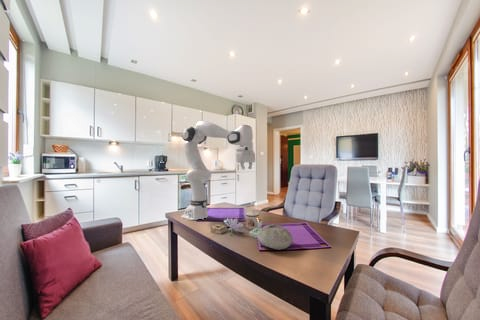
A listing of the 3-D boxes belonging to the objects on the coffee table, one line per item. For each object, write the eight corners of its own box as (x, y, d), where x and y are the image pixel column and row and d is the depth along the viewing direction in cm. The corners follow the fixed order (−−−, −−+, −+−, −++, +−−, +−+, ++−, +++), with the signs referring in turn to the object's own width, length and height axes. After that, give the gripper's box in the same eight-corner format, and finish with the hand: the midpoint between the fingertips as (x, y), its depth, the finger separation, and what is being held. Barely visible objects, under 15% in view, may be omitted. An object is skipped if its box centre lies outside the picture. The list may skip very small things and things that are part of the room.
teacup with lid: (243, 227, 132) (243, 210, 132) (250, 224, 139) (250, 207, 139) (258, 231, 124) (258, 212, 125) (265, 227, 132) (265, 210, 132)
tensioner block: (210, 232, 124) (210, 227, 124) (217, 228, 130) (217, 224, 130) (219, 234, 120) (219, 229, 120) (226, 230, 126) (226, 226, 126)
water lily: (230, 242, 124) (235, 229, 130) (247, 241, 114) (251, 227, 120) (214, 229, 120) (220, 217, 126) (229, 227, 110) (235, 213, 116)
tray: (249, 236, 116) (249, 232, 116) (255, 231, 123) (255, 227, 123) (263, 239, 111) (263, 235, 111) (269, 234, 119) (269, 230, 119)
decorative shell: (297, 244, 104) (297, 225, 104) (284, 257, 90) (284, 235, 90) (267, 237, 114) (266, 220, 115) (251, 248, 100) (251, 228, 100)
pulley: (221, 227, 132) (221, 219, 132) (227, 225, 138) (227, 217, 138) (230, 229, 128) (230, 221, 128) (235, 226, 134) (235, 218, 134)
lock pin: (255, 234, 116) (255, 218, 116) (258, 232, 119) (258, 216, 119) (261, 236, 115) (260, 219, 114) (263, 233, 118) (263, 217, 117)
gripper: (249, 149, 144) (249, 168, 143) (234, 148, 126) (234, 169, 126) (257, 149, 140) (257, 168, 140) (242, 147, 123) (243, 169, 123)
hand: (246, 169), depth 133 cm, fingers open, 8 cm apart
